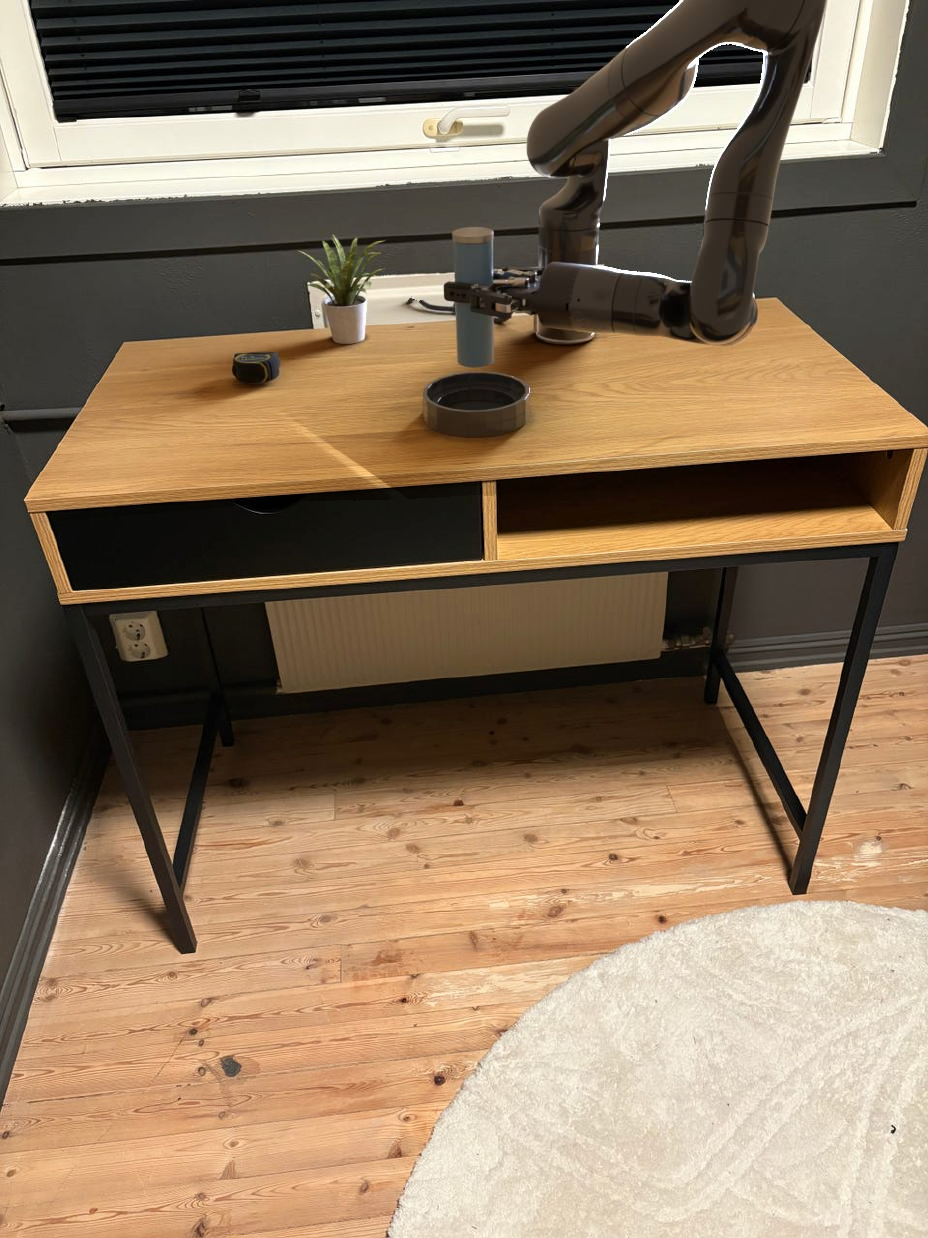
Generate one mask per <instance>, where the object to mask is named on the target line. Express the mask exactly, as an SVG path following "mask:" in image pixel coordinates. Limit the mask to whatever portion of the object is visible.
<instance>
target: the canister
mask: <svg viewBox="0 0 928 1238" xmlns="http://www.w3.org/2000/svg"><path fill="white" fill-rule="evenodd" d="M494 235H495V233H494V230H493V229H491V228H488V227H481V226H467V227H461V228H457V229H455V230H453V231H452V232H451V239H452V242H453V243H452V245H453V271H454V272H453V275H454V277H453V278H454V282H460V283H470V284H490V283H491V281H492V280H493V270H494V238H495V236H494ZM481 300H484V299H483V298H482V297H481ZM454 303H455V306H454V307H455V308H456V312H455V333H456V334H455V335H456V362H457V364H458V365H460V366H462V367H465V368H471V369H473V368H476V369H477V368H483V367H488V366H490V365H492V364H493V363H494V362H495V329H494V328H495V324H494V323H495V322H494V317H493V316H489V315H484V314H480V313H475V312H471V311H470V304H469V303H461V302H454Z"/></svg>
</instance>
